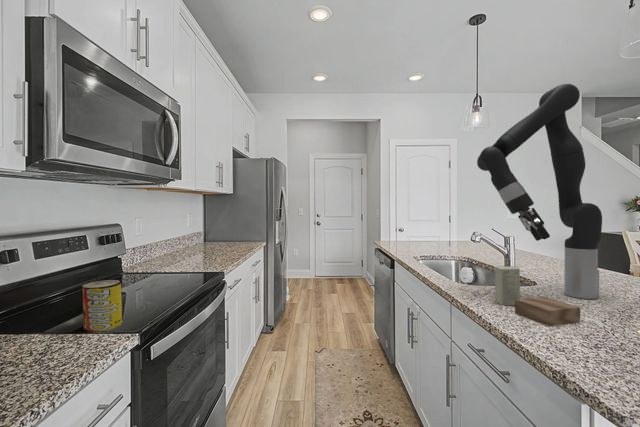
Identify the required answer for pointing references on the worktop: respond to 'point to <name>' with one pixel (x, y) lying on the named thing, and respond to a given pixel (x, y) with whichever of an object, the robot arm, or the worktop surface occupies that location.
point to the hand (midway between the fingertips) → (543, 239)
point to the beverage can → (102, 305)
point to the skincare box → (507, 285)
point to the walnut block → (547, 311)
